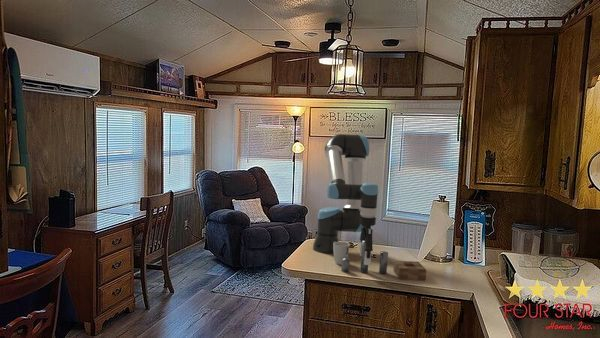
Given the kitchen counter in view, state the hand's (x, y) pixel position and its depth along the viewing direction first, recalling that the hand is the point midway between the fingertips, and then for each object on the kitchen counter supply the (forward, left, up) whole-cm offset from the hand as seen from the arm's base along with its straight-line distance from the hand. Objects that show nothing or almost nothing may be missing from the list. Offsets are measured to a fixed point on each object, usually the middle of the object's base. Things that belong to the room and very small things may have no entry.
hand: (364, 260), depth 205 cm
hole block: (+2, +21, -6) cm, 22 cm away
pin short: (0, -9, -6) cm, 11 cm away
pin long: (0, 0, -6) cm, 6 cm away
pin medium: (0, +9, -6) cm, 11 cm away
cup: (-12, -10, -6) cm, 17 cm away
